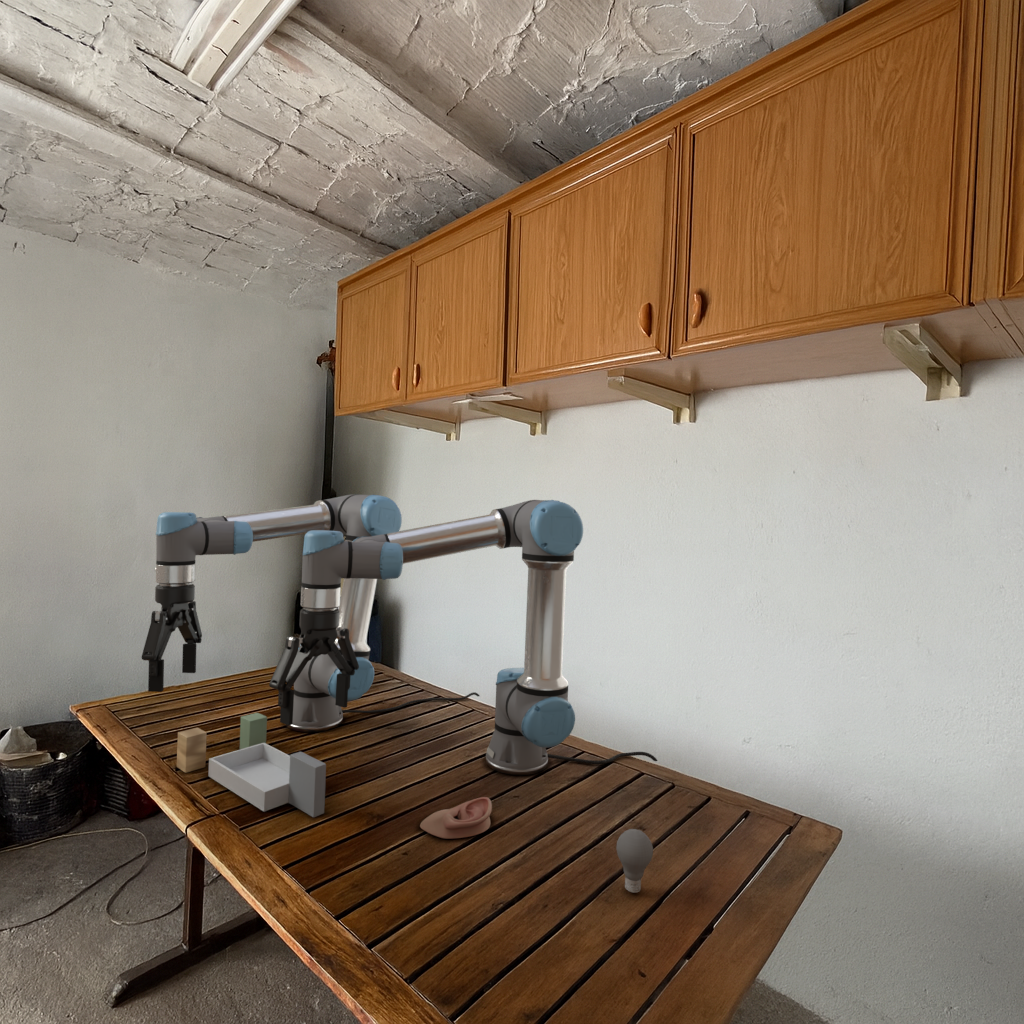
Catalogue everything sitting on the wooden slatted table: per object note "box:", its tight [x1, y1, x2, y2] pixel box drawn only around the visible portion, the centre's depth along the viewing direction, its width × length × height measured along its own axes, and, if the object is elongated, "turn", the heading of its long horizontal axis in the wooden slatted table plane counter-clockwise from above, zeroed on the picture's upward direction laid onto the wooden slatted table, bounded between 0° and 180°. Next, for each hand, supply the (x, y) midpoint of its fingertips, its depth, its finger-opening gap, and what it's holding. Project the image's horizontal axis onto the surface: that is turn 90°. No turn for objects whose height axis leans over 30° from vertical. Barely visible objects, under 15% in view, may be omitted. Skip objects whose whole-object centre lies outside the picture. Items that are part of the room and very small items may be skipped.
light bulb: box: [615, 828, 654, 894], centre depth 106 cm, size 6×6×10 cm
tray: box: [207, 742, 327, 818], centre depth 136 cm, size 32×13×10 cm, turn 51°
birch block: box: [176, 727, 207, 774], centre depth 145 cm, size 4×4×8 cm
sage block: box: [239, 712, 268, 750], centre depth 157 cm, size 4×4×8 cm
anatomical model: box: [419, 796, 493, 840], centre depth 124 cm, size 13×4×12 cm
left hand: (173, 681), depth 137 cm, fingers open, 13 cm apart
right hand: (314, 714), depth 126 cm, fingers open, 13 cm apart
